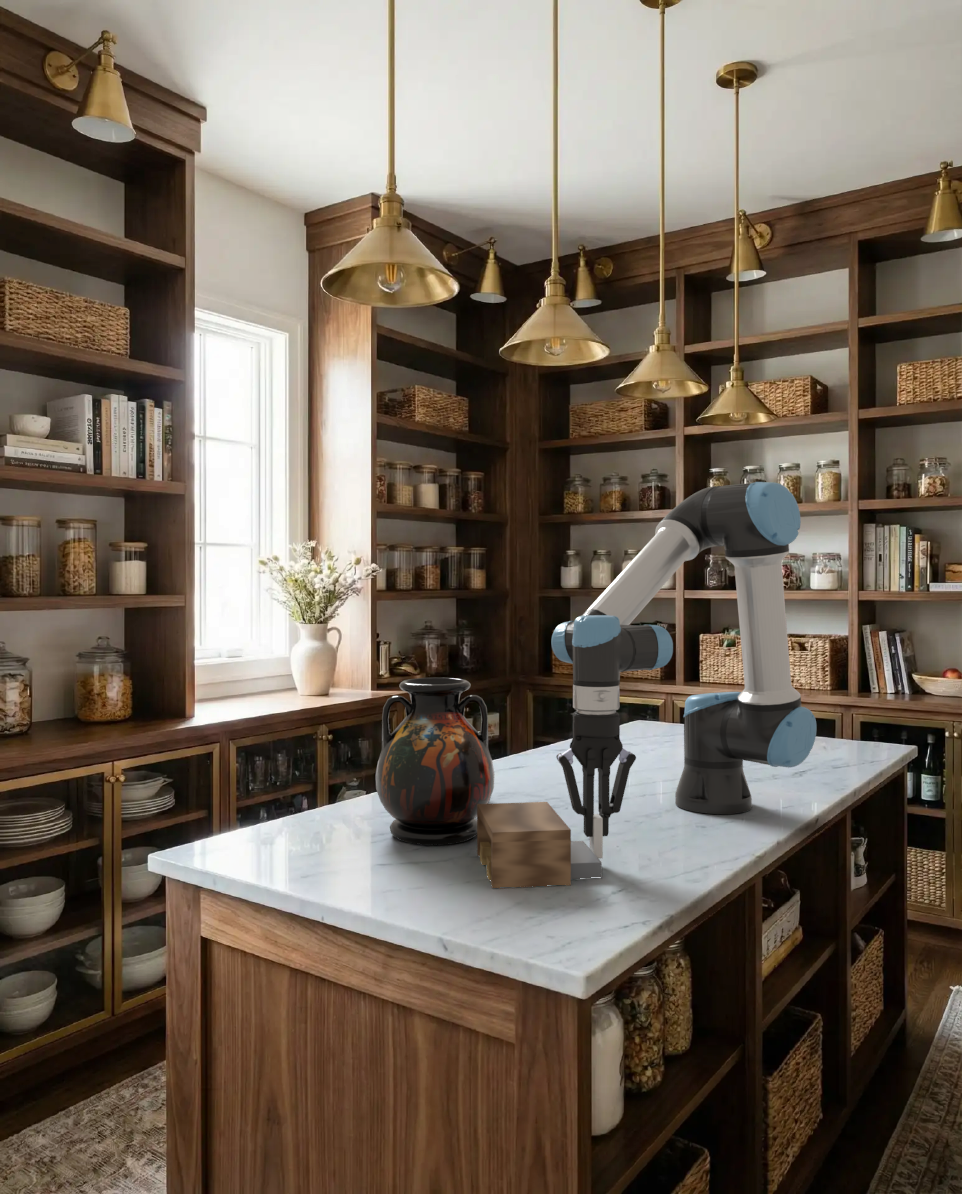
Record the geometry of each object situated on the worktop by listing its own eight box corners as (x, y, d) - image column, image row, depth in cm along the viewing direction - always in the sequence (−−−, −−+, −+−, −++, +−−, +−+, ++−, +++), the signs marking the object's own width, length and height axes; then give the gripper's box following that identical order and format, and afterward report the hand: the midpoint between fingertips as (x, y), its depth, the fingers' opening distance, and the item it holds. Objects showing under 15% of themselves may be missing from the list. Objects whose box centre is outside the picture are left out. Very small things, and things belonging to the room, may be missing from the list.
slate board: (583, 858, 161) (583, 840, 161) (601, 881, 149) (601, 862, 149) (488, 862, 159) (488, 844, 159) (499, 885, 147) (499, 866, 147)
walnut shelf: (547, 851, 163) (547, 801, 163) (570, 885, 146) (570, 829, 145) (477, 854, 162) (477, 804, 162) (492, 888, 144) (492, 832, 144)
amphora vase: (372, 853, 163) (371, 688, 162) (379, 820, 184) (378, 675, 183) (498, 851, 164) (498, 687, 163) (490, 818, 185) (490, 674, 185)
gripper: (561, 715, 150) (561, 864, 151) (642, 713, 152) (641, 861, 152) (551, 708, 158) (551, 851, 158) (628, 707, 159) (628, 847, 160)
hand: (596, 855), depth 155 cm, fingers closed
